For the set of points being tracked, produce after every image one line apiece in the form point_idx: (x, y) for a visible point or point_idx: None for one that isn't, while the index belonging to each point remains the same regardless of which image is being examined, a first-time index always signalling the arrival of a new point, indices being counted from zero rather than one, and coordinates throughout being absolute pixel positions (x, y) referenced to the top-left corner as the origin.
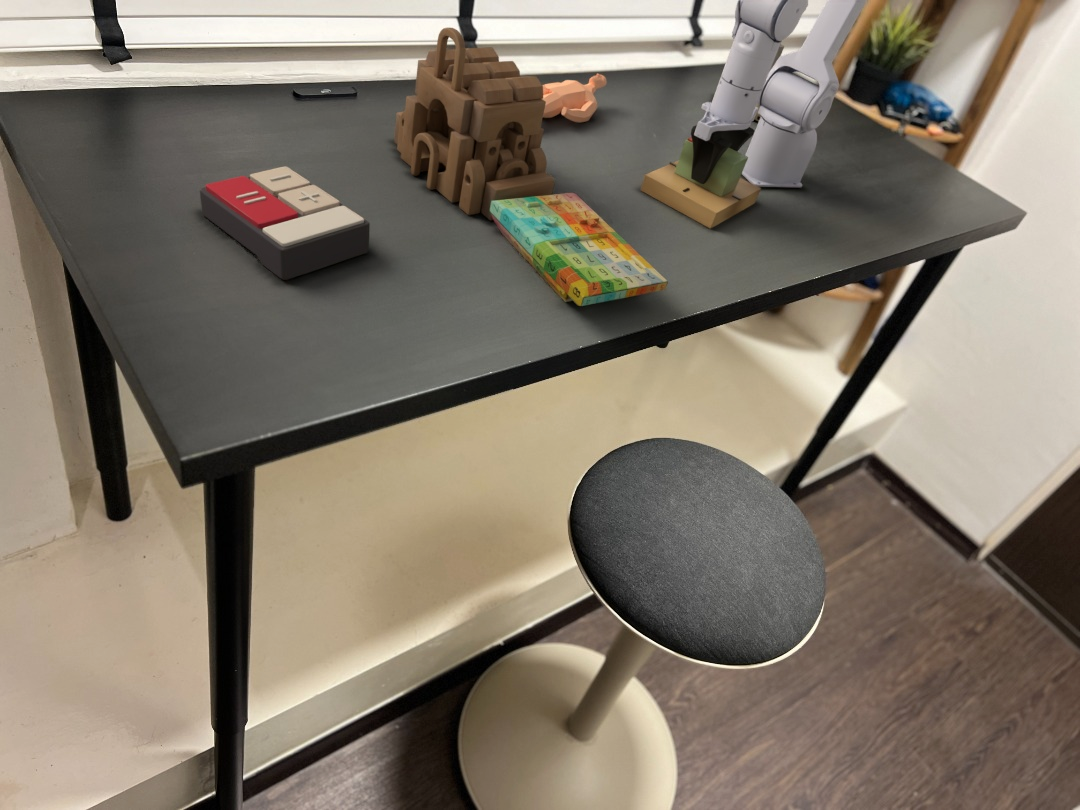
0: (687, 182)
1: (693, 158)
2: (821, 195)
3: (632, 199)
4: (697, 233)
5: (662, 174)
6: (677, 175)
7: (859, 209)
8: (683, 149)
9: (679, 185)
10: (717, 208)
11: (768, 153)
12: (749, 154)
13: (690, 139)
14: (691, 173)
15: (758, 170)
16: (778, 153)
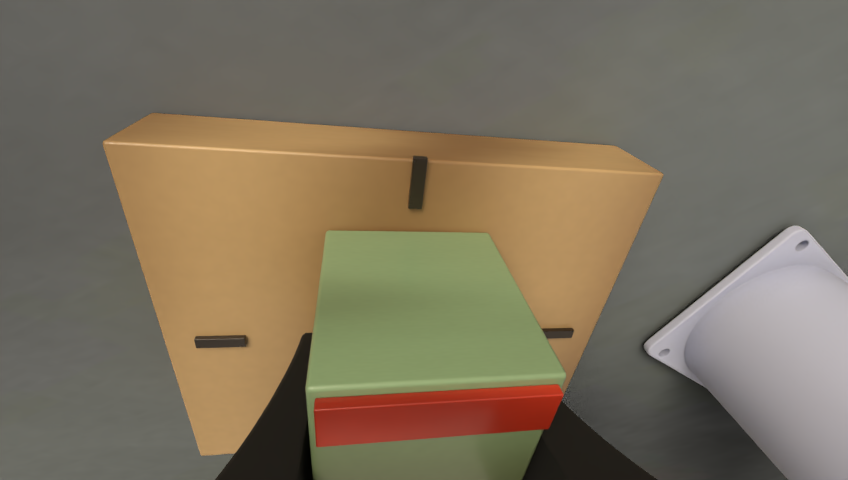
0: (305, 307)
1: (261, 417)
2: (721, 426)
3: (20, 137)
4: (143, 394)
5: (234, 203)
6: (318, 251)
7: (701, 475)
8: (312, 336)
9: (231, 304)
10: (233, 445)
11: (769, 426)
12: (789, 335)
13: (321, 426)
14: (299, 346)
15: (711, 358)
16: (773, 456)
